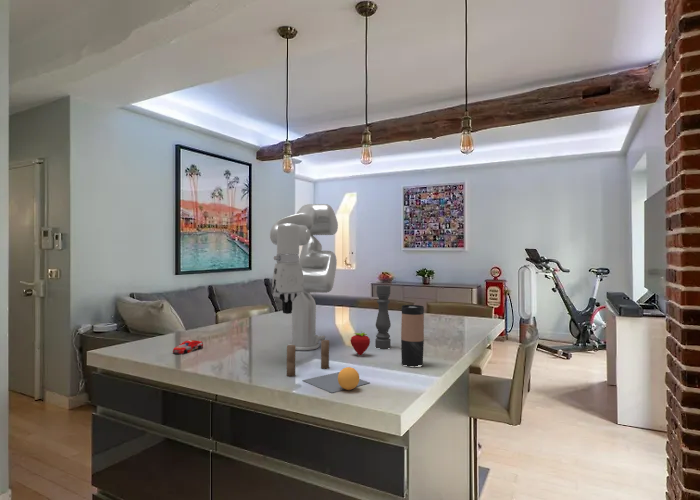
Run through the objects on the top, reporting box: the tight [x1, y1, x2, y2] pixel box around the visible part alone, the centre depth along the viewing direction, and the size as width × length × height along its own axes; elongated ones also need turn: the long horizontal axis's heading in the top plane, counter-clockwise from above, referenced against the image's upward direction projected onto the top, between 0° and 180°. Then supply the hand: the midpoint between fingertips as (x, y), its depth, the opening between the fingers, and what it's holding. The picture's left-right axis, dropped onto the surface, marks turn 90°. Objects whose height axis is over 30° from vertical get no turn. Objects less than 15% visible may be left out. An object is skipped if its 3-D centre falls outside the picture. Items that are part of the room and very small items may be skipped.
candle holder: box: [374, 284, 392, 350], centre depth 168 cm, size 6×6×25 cm
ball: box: [338, 366, 360, 391], centre depth 115 cm, size 6×6×6 cm
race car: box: [172, 339, 204, 355], centre depth 158 cm, size 13×5×4 cm, turn 159°
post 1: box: [286, 344, 296, 377], centre depth 127 cm, size 3×3×9 cm
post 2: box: [320, 339, 330, 370], centre depth 136 cm, size 3×3×9 cm
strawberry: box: [350, 332, 371, 356], centre depth 154 cm, size 6×8×10 cm
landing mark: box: [302, 371, 371, 394], centre depth 121 cm, size 14×14×1 cm
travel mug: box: [400, 304, 425, 366], centre depth 142 cm, size 8×8×20 cm
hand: (287, 313), depth 142 cm, fingers closed
